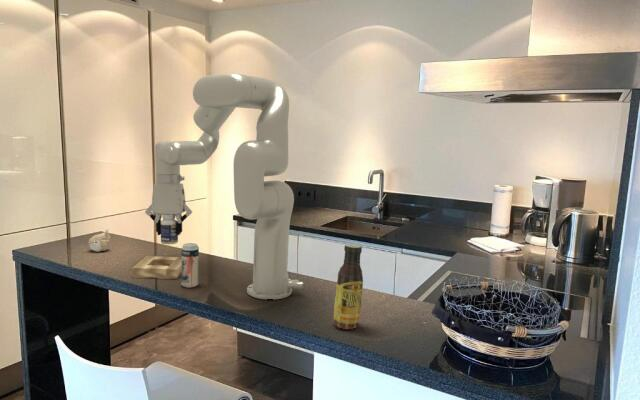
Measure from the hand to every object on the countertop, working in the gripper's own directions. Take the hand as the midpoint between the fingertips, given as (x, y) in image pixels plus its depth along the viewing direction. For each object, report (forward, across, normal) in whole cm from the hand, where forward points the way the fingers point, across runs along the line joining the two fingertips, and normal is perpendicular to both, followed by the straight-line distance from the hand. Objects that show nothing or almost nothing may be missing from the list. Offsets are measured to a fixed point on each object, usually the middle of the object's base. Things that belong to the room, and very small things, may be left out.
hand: (169, 233), depth 155 cm
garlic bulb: (+9, +27, -10) cm, 30 cm away
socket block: (+10, 0, +11) cm, 14 cm away
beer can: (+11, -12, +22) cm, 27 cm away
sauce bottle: (+13, -55, +46) cm, 73 cm away
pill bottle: (+3, 0, 0) cm, 3 cm away
